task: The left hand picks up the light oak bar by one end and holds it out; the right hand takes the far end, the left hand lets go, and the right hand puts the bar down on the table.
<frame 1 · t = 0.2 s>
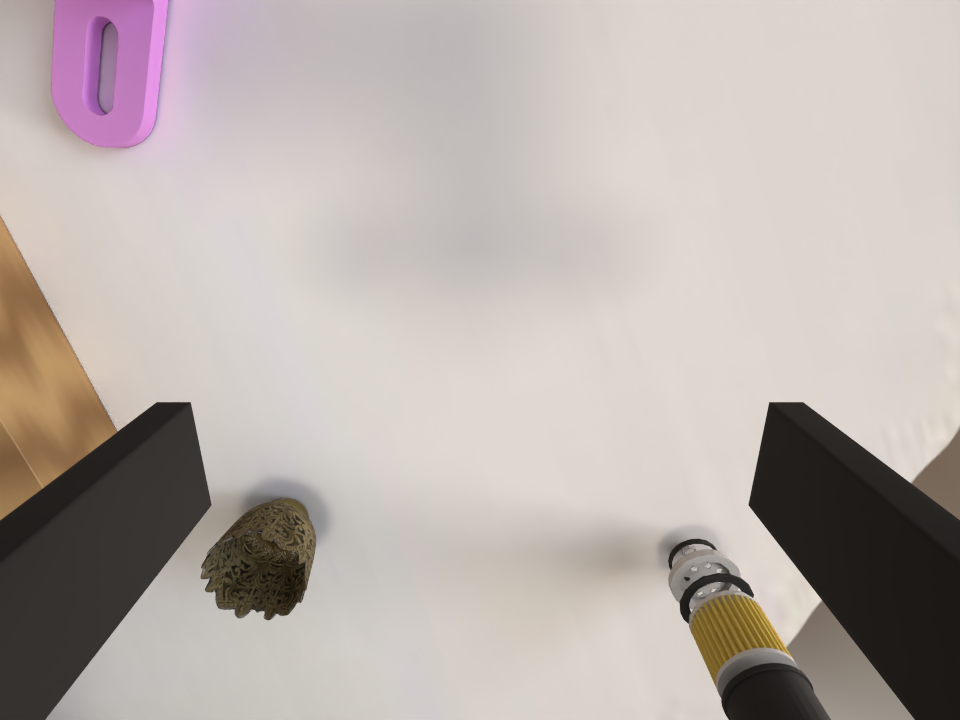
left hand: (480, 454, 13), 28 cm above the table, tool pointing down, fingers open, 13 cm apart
cup: (290, 511, 46), on the table
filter: (687, 548, 48), on the table
bar: (24, 321, 40), on the table
bracket: (119, 39, 34), on the table
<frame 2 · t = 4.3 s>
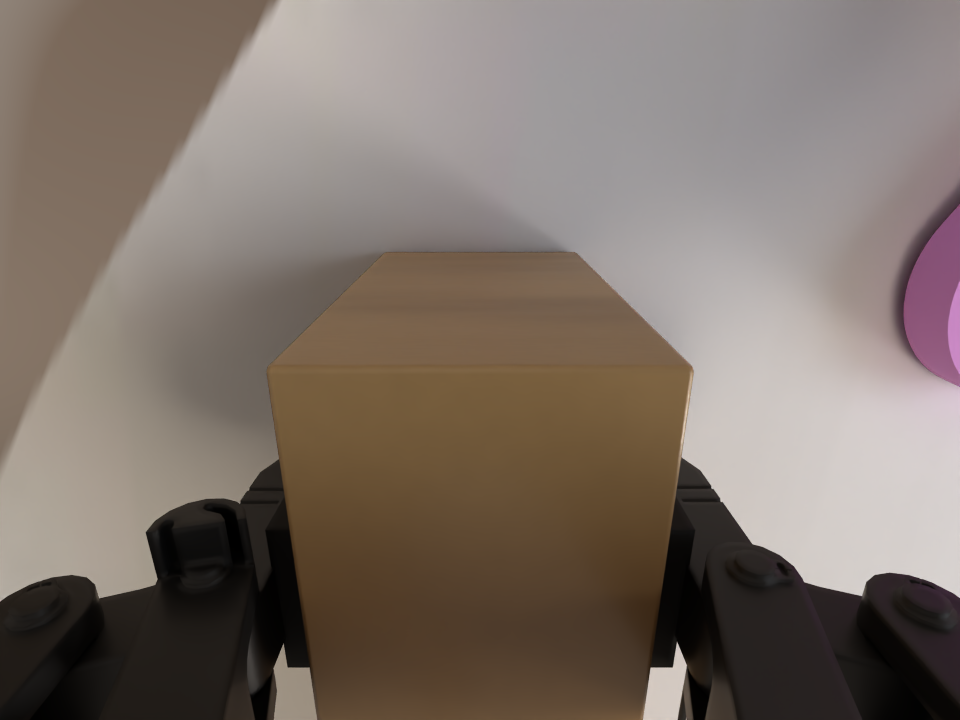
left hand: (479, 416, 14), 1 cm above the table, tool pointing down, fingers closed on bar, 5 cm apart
bar: (480, 639, 18), on the table, touching left hand
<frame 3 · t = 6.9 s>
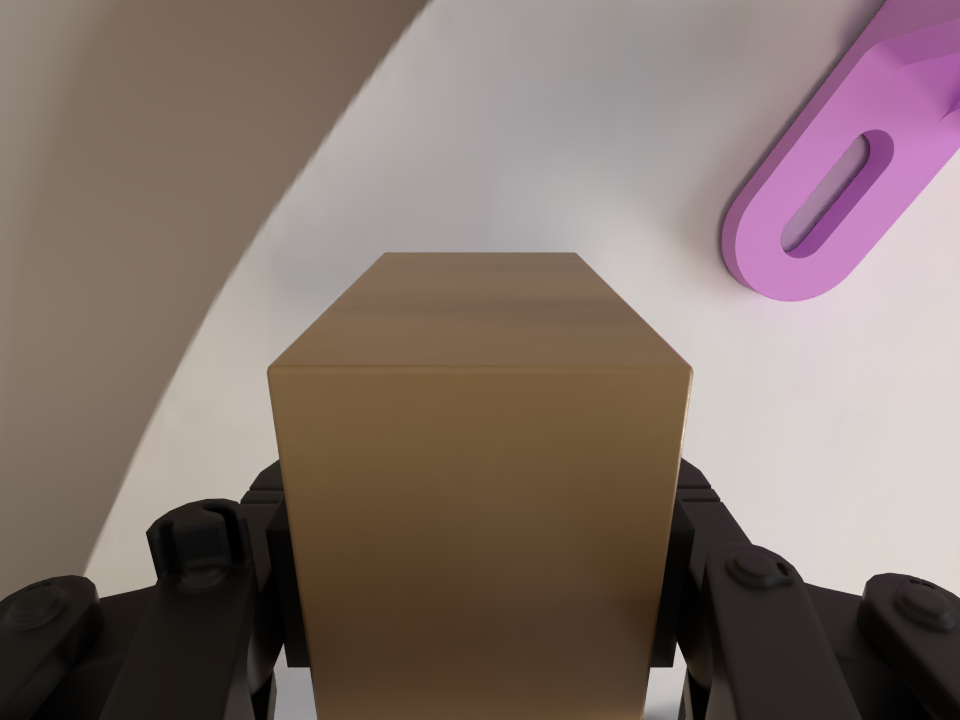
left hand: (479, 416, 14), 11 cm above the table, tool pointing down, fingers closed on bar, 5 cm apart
bar: (480, 640, 18), point 11 cm above the table, touching left hand
bracket: (844, 155, 23), on the table
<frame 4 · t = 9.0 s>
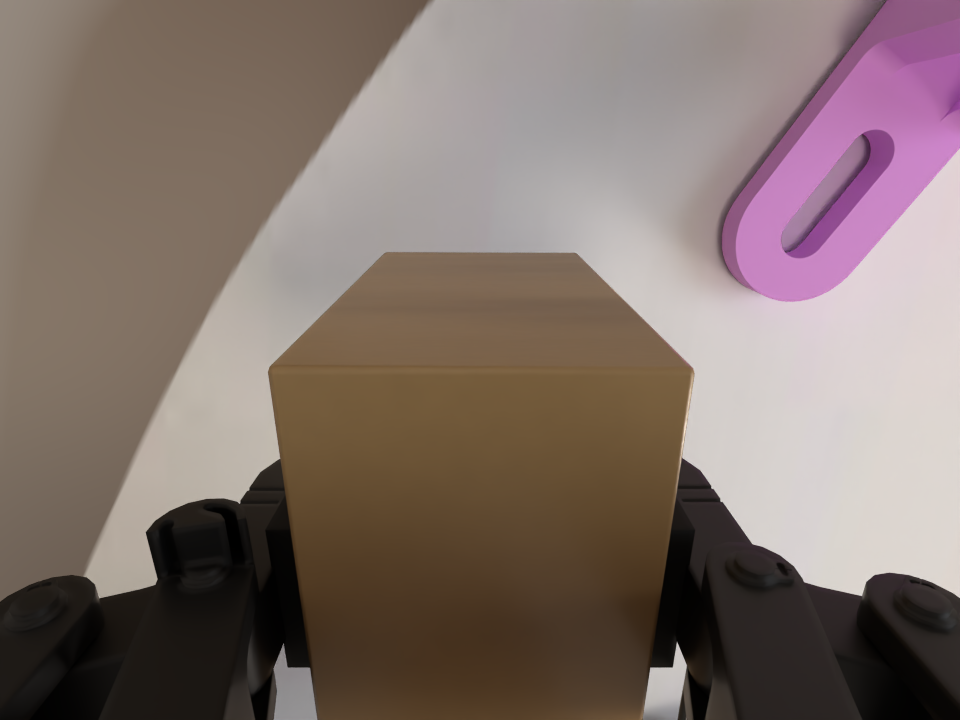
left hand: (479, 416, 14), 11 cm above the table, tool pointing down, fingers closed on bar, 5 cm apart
bar: (479, 639, 18), point 11 cm above the table, touching left hand, right hand
bracket: (844, 155, 23), on the table
when the left hand's fingers open (11 cm above the table, at t = 9.7 s): bar stays where it is, held by the right hand.
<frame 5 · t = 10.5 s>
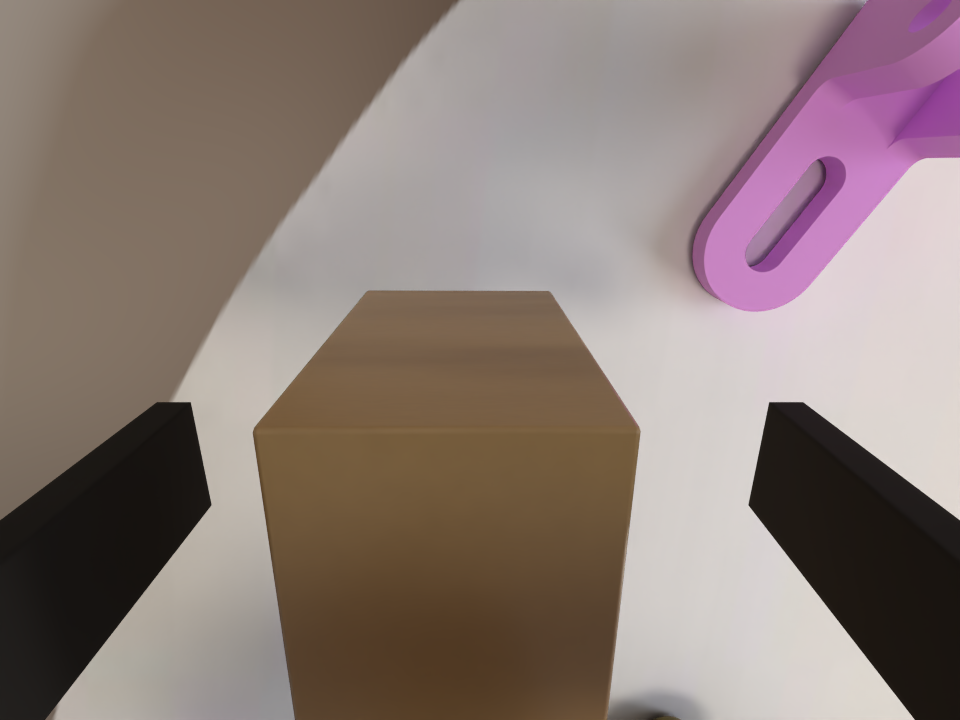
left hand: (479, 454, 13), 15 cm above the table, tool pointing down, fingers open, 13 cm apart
bar: (461, 659, 18), point 12 cm above the table, touching right hand
bracket: (803, 178, 25), on the table
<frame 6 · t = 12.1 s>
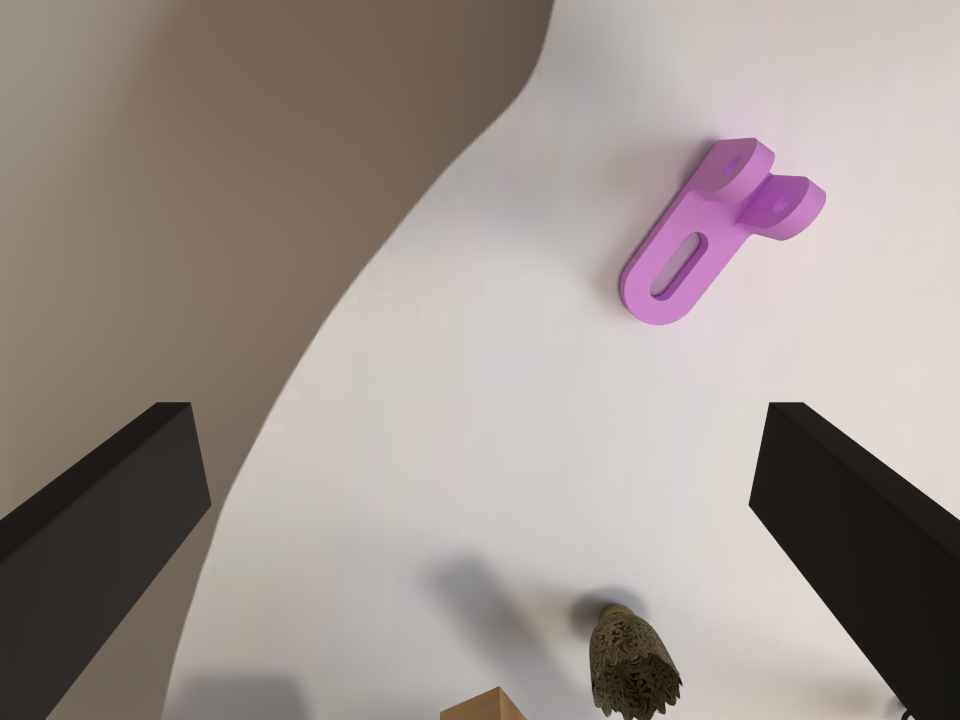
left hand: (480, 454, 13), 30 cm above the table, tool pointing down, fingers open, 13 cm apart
cup: (615, 614, 53), on the table
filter: (913, 704, 57), on the table
bracket: (687, 242, 40), on the table
when the right hand's fingers open (2 cm above the table, at t = 15.1 s): bar drops 1 cm, on the table.
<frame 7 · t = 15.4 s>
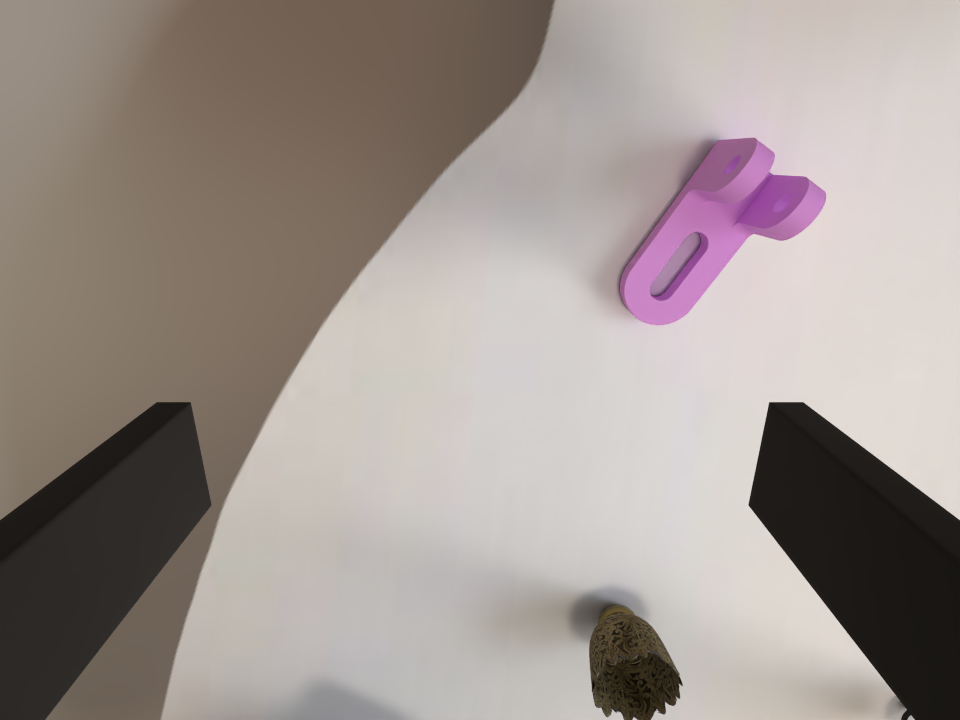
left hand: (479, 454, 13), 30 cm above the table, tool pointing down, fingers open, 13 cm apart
cup: (615, 614, 53), on the table
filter: (913, 704, 57), on the table
bracket: (687, 242, 40), on the table
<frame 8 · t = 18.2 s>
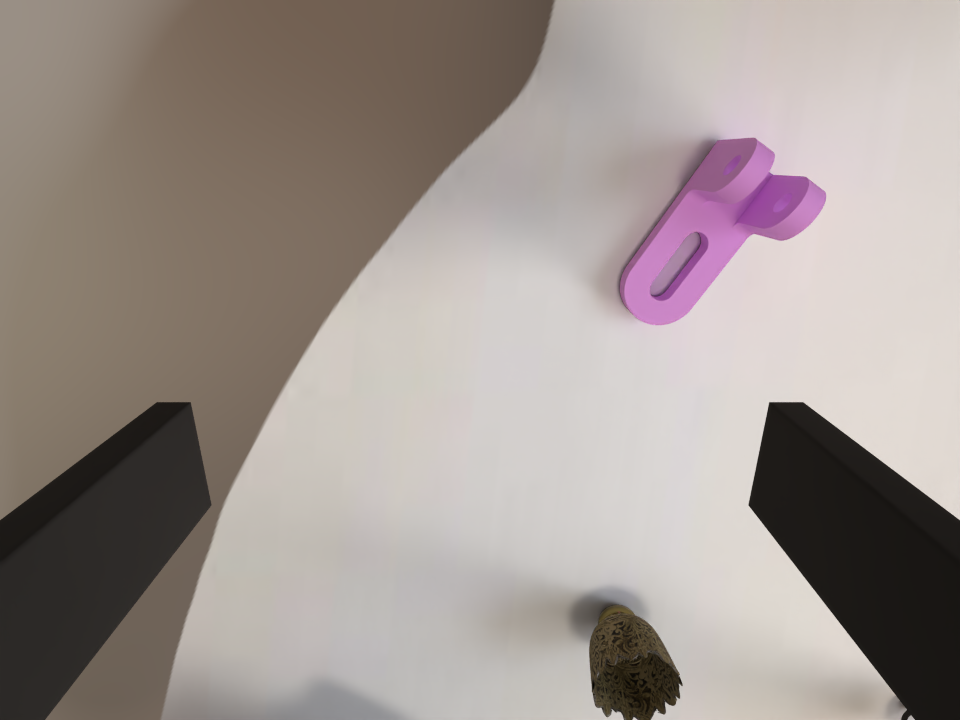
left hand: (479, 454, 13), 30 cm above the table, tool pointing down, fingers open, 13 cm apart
cup: (615, 614, 53), on the table
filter: (913, 704, 57), on the table
bracket: (687, 242, 40), on the table
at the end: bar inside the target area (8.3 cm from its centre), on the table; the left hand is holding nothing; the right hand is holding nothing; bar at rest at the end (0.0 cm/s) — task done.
